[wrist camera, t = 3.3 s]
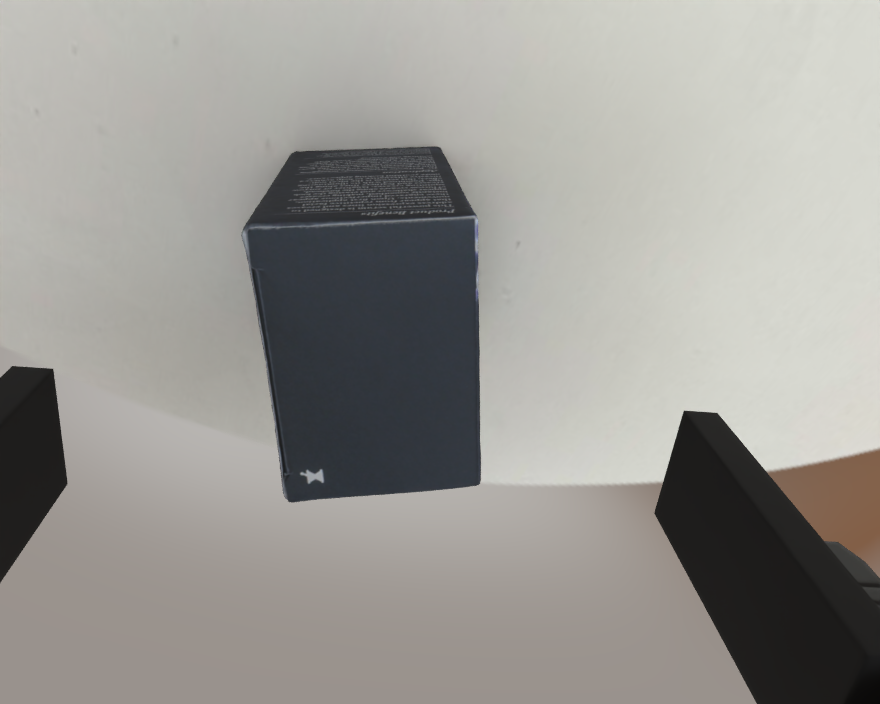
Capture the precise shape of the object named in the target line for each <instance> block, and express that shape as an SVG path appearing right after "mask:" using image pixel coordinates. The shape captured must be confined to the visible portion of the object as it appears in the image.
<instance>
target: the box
mask: <svg viewBox="0 0 880 704" xmlns="http://www.w3.org/2000/svg"><path fill="white" fill-rule="evenodd" d="M242 239H243V243H244V246H245V249H246V254H247V259H248V263H249V269H250V274H251V279H252V285H253V290H254V295H255V300H256V308H257V315H258V321H259V327H260V333H261V338H262V344H263V349H264V355H265V360H266V368H267V376H268V383H269V390H270V396H271V402H272V410H273V415H274V421H275V432H276V438H277V445H278V452H279V461H280V469H281V478H282V487H283V494H284V496H285V498H286V499H287V500H288V501H289V502H299V501H308V500H317V499H328V498H340V497H352V496H353V497H354V496H368V495H384V494H395V493H408V492H422V491H433V490H443V489H453V488H462V487H469V486H476V485H479V484H480V480H481V452H480V381H479V355H480V350H479V301H478V285H479V284H478V218H477V216H476V214H475V213H474V211H473V210H472V208H471V205H470V204H469V202H468V201H467V199H466V197H465V195H464V193H463V191H462V189H461V187H460V185H459V183H458V181H457V179H456V177H455V175H454V173H453V171H452V169H451V167H450V165H449V163H448V161H447V159H446V157H445V156H444V154H443V152H442V150H441V148H440V147H420V148H393V149H364V150H335V151H305V152H297V151H296V152H294V153H292V154H291V155H290V156H289V158H288V160H287V161H286V163H285V165H284V166H283V168H282V169H281V171H280V172H279V174H278V176H277V177H276V178H275V180H274V182H273V183H272V185H271V187H270V188H269V189H268V191H267V193H266V195H265V196H264V198H263V199H262V200H261V202H260V204H259V205H258V206H257V208H256V209H255V211H254V213H253V214H252V216H251V217H250V219H249V220H248V222H247V223H246V225H245V226H244V228H243V231H242Z"/></svg>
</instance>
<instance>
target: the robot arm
mask: <svg viewBox="0 0 880 704" xmlns="http://www.w3.org/2000/svg"><path fill="white" fill-rule="evenodd" d="M66 485H67V476H66V468H65V460H64V452H63V444H62V436H61V427H60V419H59V412H58V403H57V395H56V388H55V380H54V371H53V369H47V368H32V367H16V366H12V367H11V368H10V369H9V370H8V371H7V372H6V373H5V374H4V375H3V376H2V377H1V378H0V582H1V581H2V579H3V578H4V576H5V575H6V573H7V572H8V570H9V569H10V568H11V566H12V565H13V563H14V562H15V560H16V559H17V557H18V556H19V554H20V553H21V551H22V550H23V548H24V547H25V546H26V544H27V542H28V541H29V540H30V538H31V537H32V535H33V534H34V532H35V531H36V529H37V528H38V526H39V525H40V523H41V522H42V520H43V519H44V518H45V516H46V515H47V513H48V512H49V510H50V509H51V507H52V506H53V504H54V503H55V501H56V500H57V498H58V497H59V495H60V494H61V492H62V491H63V490H64V488H65V487H66ZM655 515H656V517H657V519H658V521H659V523H660V524H661V526H662V528H663V530H664V532H665V534H666V535H667V537H668V539H669V541H670V543H671V545H672V547H673V549H674V550H675V552H676V554H677V556H678V558H679V559H680V562H681V564H682V565H683V567H684V569H685V571H686V573H687V575H688V576H689V578H690V580H691V582H692V584H693V586H694V588H695V590H696V591H697V593H698V595H699V597H700V599H701V601H702V602H703V604H704V606H705V608H706V610H707V612H708V614H709V615H710V617H711V619H712V621H713V623H714V625H715V627H716V629H717V630H718V632H719V634H720V636H721V638H722V640H723V641H724V643H725V645H726V647H727V649H728V651H729V653H730V654H731V656H732V658H733V660H734V662H735V663H736V666H737V667H738V669H739V671H740V673H741V675H742V677H743V679H744V681H745V682H746V684H747V686H748V688H749V690H750V692H751V693H752V695H753V697H754V699H755V701H756V703H757V704H880V578H879V577H878V576H877V575H876V574H875V573H874V572H873V570H872V569H871V568H870V567H869V566H868V565H867V564H866V562H864V561H863V560H862V559H860V558H859V557H858V556H856V555H855V554H854V553H852V552H851V551H849V550H848V549H847V548H845V547H844V546H843V545H841V544H840V543H838V542H827V541H823V540H822V538H821V537H820V536H819V535H818V533H817V532H816V531H815V530H814V529H813V527H812V526H811V525H810V524H809V523H808V522H807V520H806V519H805V518H804V517H803V516H802V514H801V513H800V512H799V511H798V510H797V508H796V507H795V506H794V505H793V503H792V502H791V501H790V500H789V499H788V498H787V496H786V495H785V494H784V493H783V491H782V490H781V489H780V488H779V487H778V485H777V484H776V483H775V482H774V481H773V479H772V478H771V477H770V476H769V475H768V473H767V472H766V471H765V470H764V469H763V467H762V466H761V465H760V464H759V463H758V461H757V460H756V459H755V458H754V457H753V455H752V454H751V453H750V452H749V451H748V449H747V448H746V447H745V446H744V445H743V443H742V442H741V441H740V440H739V439H738V437H737V436H736V435H735V434H734V433H733V431H732V430H731V429H730V428H729V427H728V425H727V424H726V423H725V422H724V421H723V419H722V418H721V417H720V416H719V415H718V413H710V412H695V411H684V412H683V416H682V419H681V423H680V426H679V430H678V433H677V437H676V440H675V443H674V447H673V450H672V454H671V457H670V461H669V464H668V468H667V471H666V475H665V478H664V482H663V485H662V489H661V492H660V495H659V499H658V502H657V506H656V509H655Z"/></svg>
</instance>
